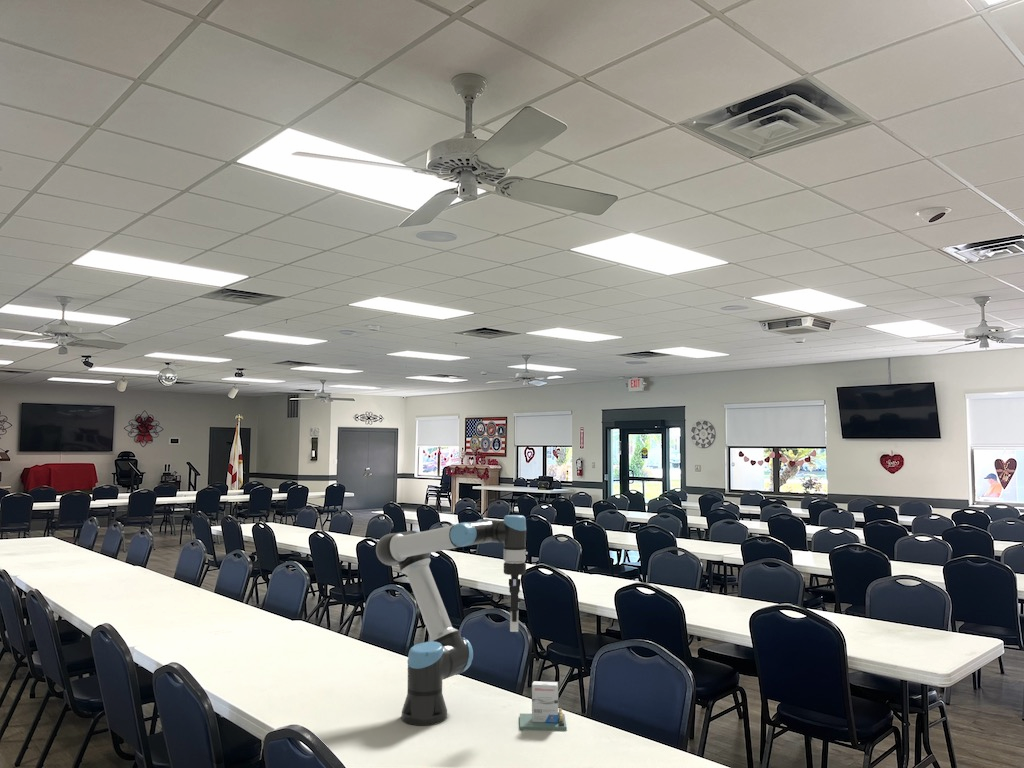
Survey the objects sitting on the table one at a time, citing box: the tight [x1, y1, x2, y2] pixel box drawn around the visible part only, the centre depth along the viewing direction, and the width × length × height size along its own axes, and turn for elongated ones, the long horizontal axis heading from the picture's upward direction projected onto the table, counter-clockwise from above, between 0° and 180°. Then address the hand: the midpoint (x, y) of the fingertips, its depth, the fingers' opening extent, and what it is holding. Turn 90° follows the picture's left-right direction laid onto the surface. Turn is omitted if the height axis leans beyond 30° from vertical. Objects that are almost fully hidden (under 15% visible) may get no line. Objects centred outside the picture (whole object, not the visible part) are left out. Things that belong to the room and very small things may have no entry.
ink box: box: [531, 680, 559, 723], centre depth 238 cm, size 8×5×12 cm, turn 84°
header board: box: [519, 707, 568, 731], centre depth 237 cm, size 15×12×4 cm
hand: (514, 626), depth 240 cm, fingers open, 13 cm apart
